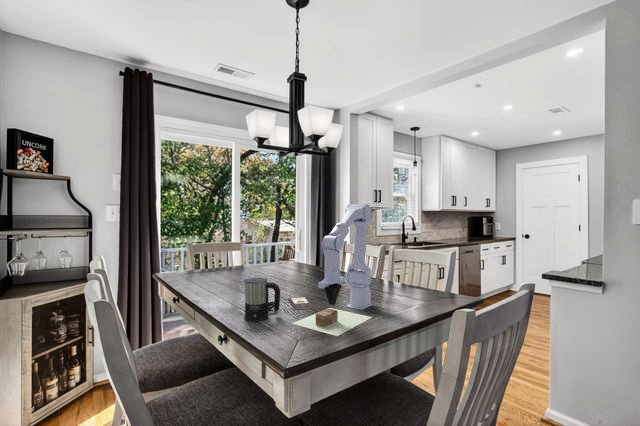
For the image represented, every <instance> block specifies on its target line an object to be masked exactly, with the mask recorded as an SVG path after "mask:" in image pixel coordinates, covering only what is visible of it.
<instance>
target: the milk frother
mask: <svg viewBox="0 0 640 426" xmlns="http://www.w3.org/2000/svg"><path fill="white" fill-rule="evenodd" d="M243 282H244V317H243V319H244V320H245V321H247V322H261V321H265V320H267V319H268V318H269V314H270V313H269V312H270V311H271V310H274V312H278V311H279V310H280V305H281V303H280V302H281V301H280V300H281V288H280V286H279V285H278V284H277V283H276V282H272V281H271V282H269V278H268V277H260V276H257V277H249V278H245V279H244V280H243ZM269 289H271V290H273V291H274V300H273V301H269Z"/></svg>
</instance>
